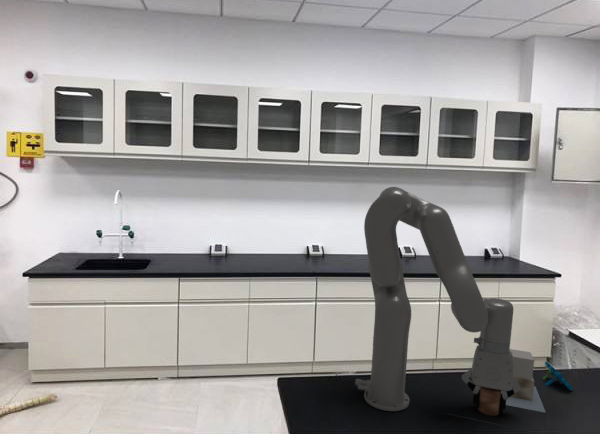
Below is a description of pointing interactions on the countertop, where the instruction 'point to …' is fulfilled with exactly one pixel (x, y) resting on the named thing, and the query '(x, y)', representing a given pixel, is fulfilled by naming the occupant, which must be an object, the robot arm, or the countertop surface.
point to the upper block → (522, 364)
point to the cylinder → (489, 401)
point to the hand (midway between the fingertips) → (488, 407)
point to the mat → (527, 402)
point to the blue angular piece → (555, 376)
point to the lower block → (524, 389)
